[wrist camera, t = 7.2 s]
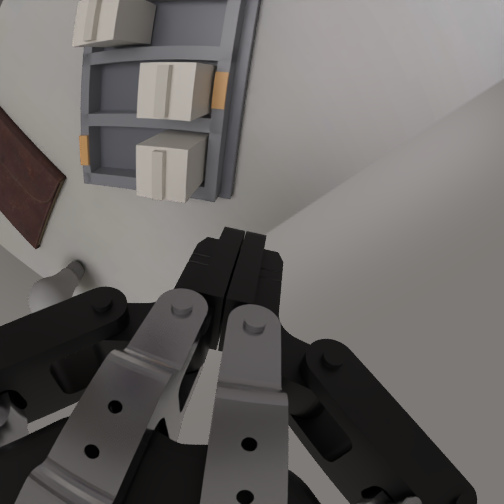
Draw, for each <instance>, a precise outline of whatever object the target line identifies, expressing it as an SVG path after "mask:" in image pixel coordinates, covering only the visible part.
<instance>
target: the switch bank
mask: <svg viewBox="0 0 504 504" xmlns="http://www.w3.org/2000/svg"><path fill="white" fill-rule="evenodd" d="M146 1H149V2H151V3H153V4H156V11H155V17H154V23H153V30H152V37H151V44H146V45H133V46H123V47H115V48H109V47H84V53H83V65H82V81H81V135H80V136H79V141H80V159H81V165H83V174H84V183H86V184H95V185H103V186H111V187H119V188H126V189H134V190H136V145H137V144H139V143H141V142H143V141H145V140H147V139H149V138H151V137H153V136H155V135H157V134H159V133H161V132H164V131H166V130H168V129H171V130H182V131H193V132H202V133H209V141H208V151H207V163H206V174H205V180H204V181H203V182H202V183H201V185H200V186H199V187H198V188H197V189H196V191H195V192H194V193H193V194H192V195H191V197H190V198H194V199H200V200H206V201H212V202H215V201H216V199H217V197H221V198H227V199H230V198H231V196H232V194H233V186H234V178H235V170H236V162H237V155H238V147H239V139H240V132H241V125H242V118H243V110H244V103H245V97H246V90H247V83H248V76H249V70H250V63H251V57H252V50H253V44H254V38H255V32H256V26H257V20H258V14H259V8H260V3H261V0H146ZM150 62H195V63H203V64H209V65H215V66H217V72H215V79H214V87H213V95H212V104H211V108H212V112H211V113H208V114H206V115H204V116H201V117H199V118H197V119H194V120H192V121H182V120H168V119H150V118H137V99H138V84H139V72H140V63H150Z"/></svg>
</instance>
